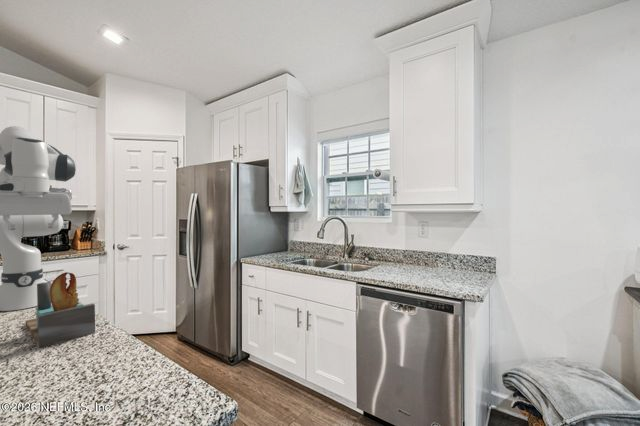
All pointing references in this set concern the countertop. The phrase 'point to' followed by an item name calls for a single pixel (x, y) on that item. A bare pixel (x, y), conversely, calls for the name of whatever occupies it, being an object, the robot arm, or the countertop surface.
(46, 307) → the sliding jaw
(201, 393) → the countertop surface
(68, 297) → the crab claw
